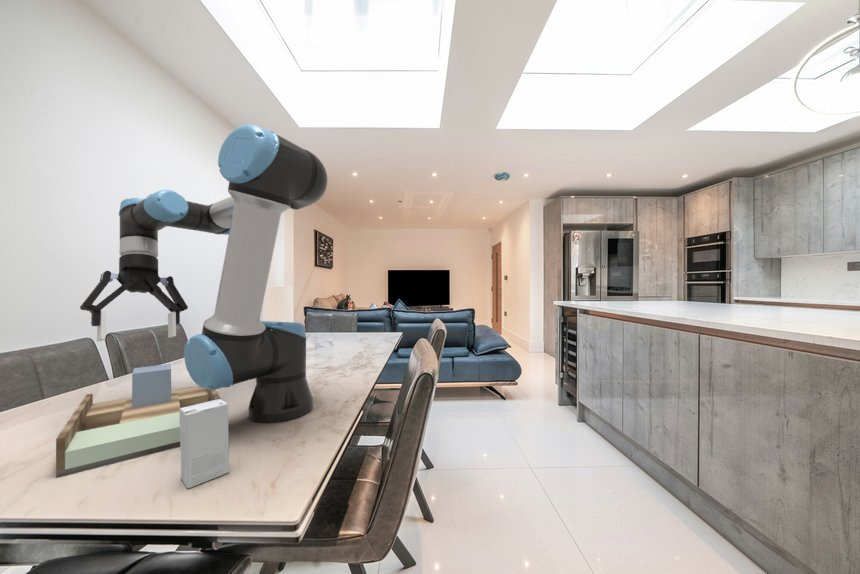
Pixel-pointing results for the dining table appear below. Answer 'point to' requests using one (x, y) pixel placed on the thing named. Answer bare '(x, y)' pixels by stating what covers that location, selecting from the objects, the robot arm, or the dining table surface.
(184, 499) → the dining table surface
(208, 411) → the skincare box
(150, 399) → the slate block
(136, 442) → the pad
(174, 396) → the box
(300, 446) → the dining table surface
